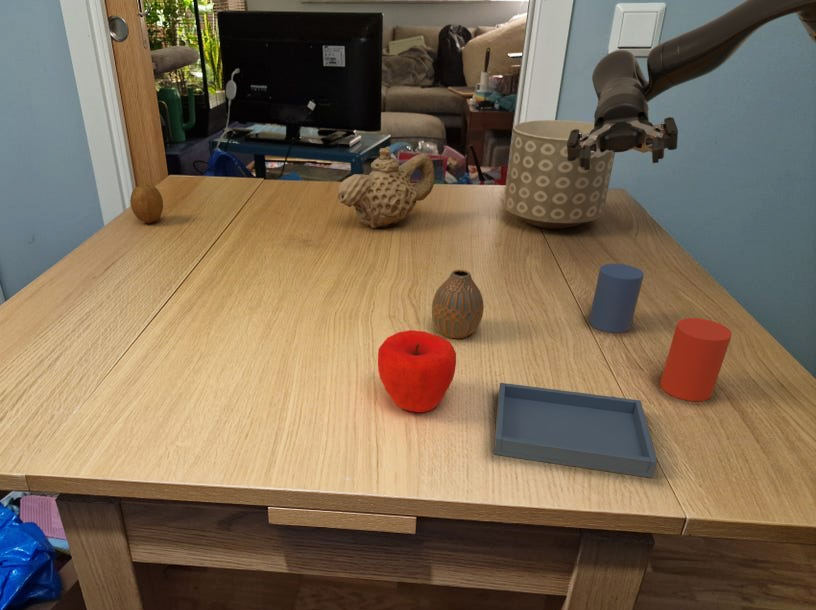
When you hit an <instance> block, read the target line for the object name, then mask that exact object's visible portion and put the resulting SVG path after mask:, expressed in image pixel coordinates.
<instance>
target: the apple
mask: <svg viewBox="0 0 816 610" xmlns="http://www.w3.org/2000/svg"><path fill="white" fill-rule="evenodd" d="M456 367H457V352H456V350H455V348H454V346H453V344H452V343H451V341H450V340H447V339H445V338H444V337H442V336H440V335H436V334H433V333H430V332H427V331H424V330H413V329H409V330H404V331H403V330H402V331H398V332H396V333H394V334H392V335H390V336H387V337H386V339H385V340H384V341H383V342H382V344H381V345H380V346H379V347H378V352H377V370H378V375H379V379H380V382H381V383H382V385H383V388H384V389H385V391H386V393H387V394H388V395H389V398H390V399H391V400H392V401H393V403H394V404H395V405H396V406H398V407H399V408H400V409H403V410H406V411H409V412H415V413H425V412H431V411H432V410H433V409H435V408H436V407H437V406H438V405H439V404H440V403H441V401H442V400H443V398H444V397H445V395H446V393H447V392H448V390H449V388H450V386H451V384H452V381H453V379H454V376H455V374H456V373H455V372H456Z"/></svg>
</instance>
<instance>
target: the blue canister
mask: <svg viewBox="0 0 816 610" xmlns="http://www.w3.org/2000/svg"><path fill="white" fill-rule="evenodd" d="M644 276H645V273H644V271H643V270H642V269H640V268H638V267H635V266H633V265H628V264H623V263H607V264H602V265H601V266H600V267H599V271H598V275H597V281H596V284H595V290H594V294H593V299H592V304H591V308H590V313H589V317H588V323H589V324H590V326H592V327H593V328H595V329H597V330H598V331H603V332H607V333H611V334H613V333H614V334H622V333H625V332H628V331H630V330H631V328H632V324H633V320H634V317H635V312H636V308H637V304H638V299H639V296H640V291H641V288H642V285H643V280H644Z"/></svg>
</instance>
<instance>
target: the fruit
mask: <svg viewBox="0 0 816 610" xmlns="http://www.w3.org/2000/svg"><path fill="white" fill-rule="evenodd" d="M129 199H130V200H129V201H130V208H131V211H132V213H133V214H134V216H135V217H136V218H137V220H139V221H140V222H143V223H145V224H148V225H150V224H153V223H154V222H156V221H157V220H159V219H160V218H161V216H162V213H163V210H164V199H163V196H162V194H161V192H160V191H159V189H158V188H156V186H155V185H152V184H148V183H146V182H142V183H141V184H140V185H137V186H135V187H134V188H133V190H132V191H131V194H130V198H129Z"/></svg>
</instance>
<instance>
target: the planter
mask: <svg viewBox="0 0 816 610" xmlns="http://www.w3.org/2000/svg"><path fill="white" fill-rule="evenodd" d="M574 129H578V130H579V132H582V134H587V133H590V132H591V130H592V129H594V122H588V121H577V120H562V119H541V120H529V121H523V122H519V123H516V124H515V125H514V126H513V128H512V136H511V144H510V151H509V158H508V159H509V160H508V168H507V174H506V182H505V191H504V196H503V197H504V199H503V208H504V209H505V210H506V211H507V212H509V213H510V214H512V215H515V216H517V217H518V218H520V219H521V220H522V221H524V222H526V223H528V224H529V225H531V226H534V227H537V228H541V229H546V230H563V229H569V228H573V227H577V226H579V225H582V224H584V223H587V222H593V221H595V220H598V219H600V218H601V217H602V216H603V214H604V211H605V206H606V205H605V204H606V201H607V195H608V190H609V185H610V181H611V176H612V172H613V166H614V161H615V157H616V156H615V155H616V152H608V153H606V154H604V155H603V156H601V157H599V158H596V157H593V158H591V164H590V170H585V168H584V167H580V165H579V158H576V160H574V161H568V159H567V157H568V151H567V142H568V139H569V136H570V133H571V131H572V130H574Z"/></svg>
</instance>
